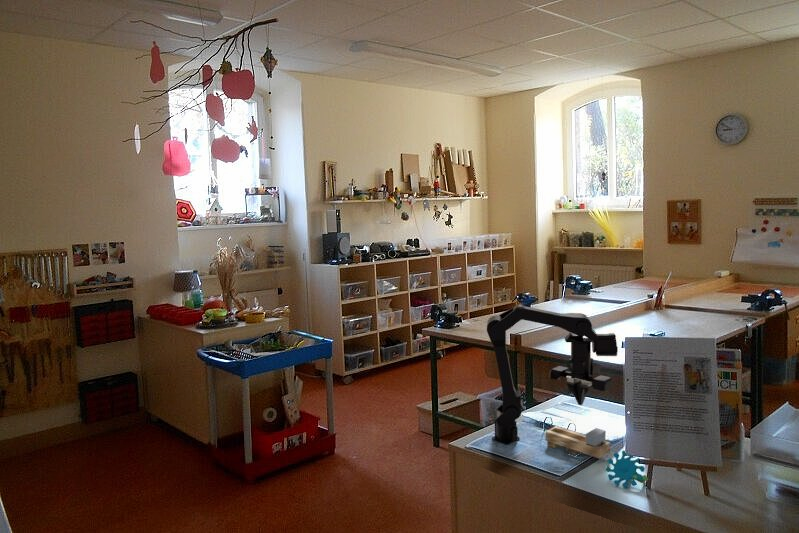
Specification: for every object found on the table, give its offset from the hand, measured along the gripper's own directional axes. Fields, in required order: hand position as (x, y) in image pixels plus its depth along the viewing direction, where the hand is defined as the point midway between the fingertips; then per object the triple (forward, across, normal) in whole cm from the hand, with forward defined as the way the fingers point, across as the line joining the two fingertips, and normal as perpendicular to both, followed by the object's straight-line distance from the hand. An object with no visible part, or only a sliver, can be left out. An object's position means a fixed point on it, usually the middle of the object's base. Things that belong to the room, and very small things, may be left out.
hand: (580, 404), depth 185 cm
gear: (+12, -22, +14) cm, 29 cm away
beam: (+12, -3, +7) cm, 14 cm away
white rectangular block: (+8, -9, +7) cm, 14 cm away
